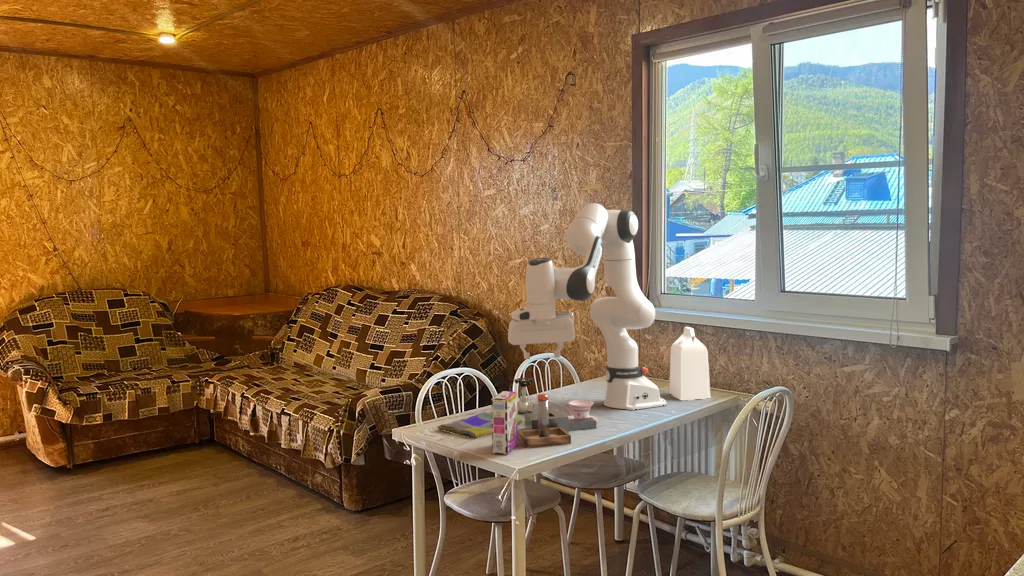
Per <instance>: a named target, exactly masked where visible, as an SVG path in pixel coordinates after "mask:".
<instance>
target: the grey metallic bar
mask: <svg viewBox="0 0 1024 576" xmlns="http://www.w3.org/2000/svg"><path fill="white" fill-rule="evenodd" d="M549 411H550V410H549V394H548V393H539V394H537V412H538V424H539V438H540V437H549Z"/></svg>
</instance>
